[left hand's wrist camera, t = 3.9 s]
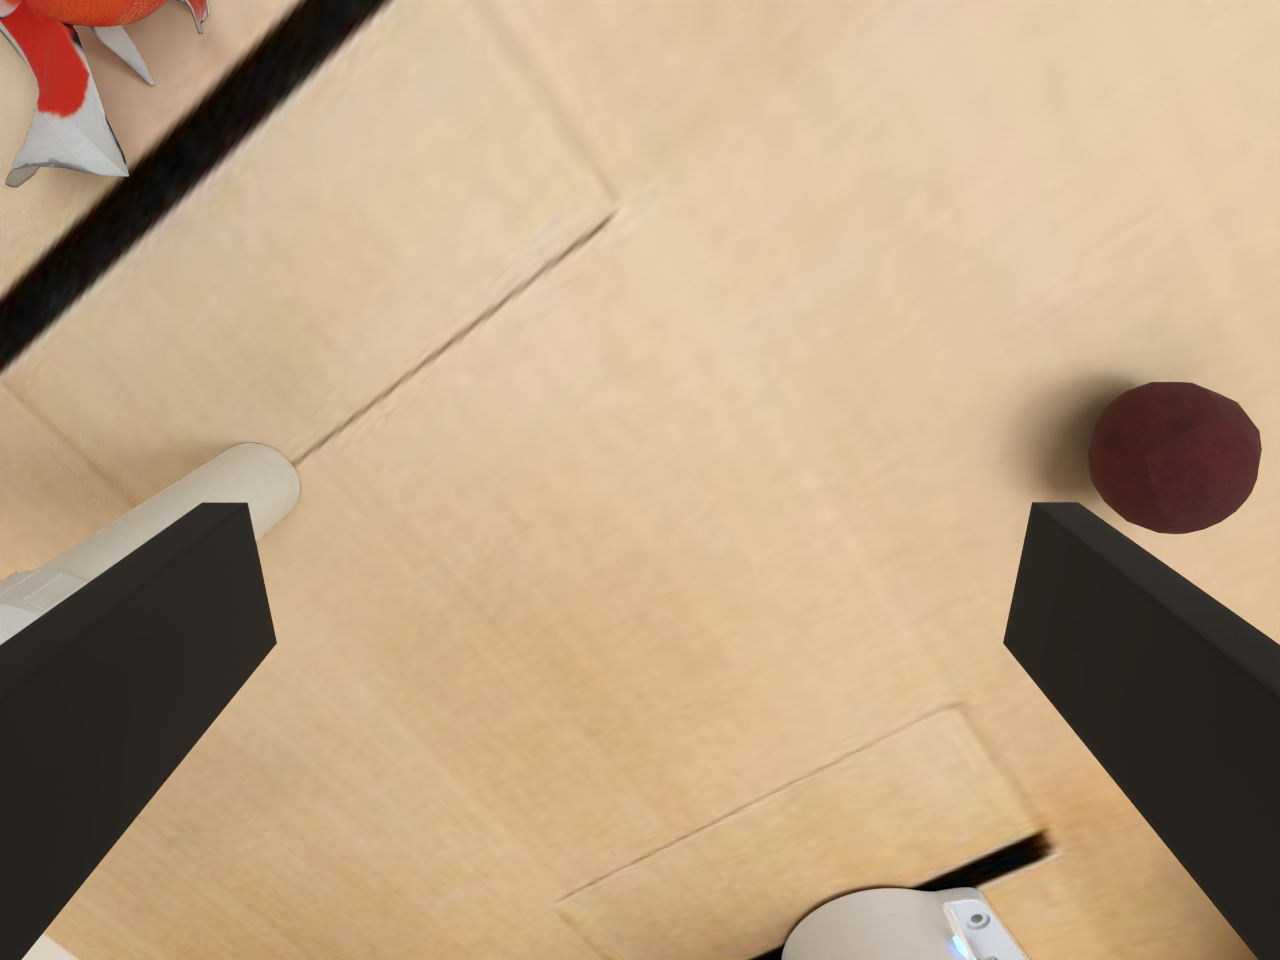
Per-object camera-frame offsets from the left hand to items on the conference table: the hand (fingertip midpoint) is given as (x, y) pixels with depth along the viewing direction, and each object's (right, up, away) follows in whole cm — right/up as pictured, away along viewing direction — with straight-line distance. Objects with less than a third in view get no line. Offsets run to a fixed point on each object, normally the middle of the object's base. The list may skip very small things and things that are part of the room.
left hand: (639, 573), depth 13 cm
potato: (+27, +4, +28) cm, 39 cm away
